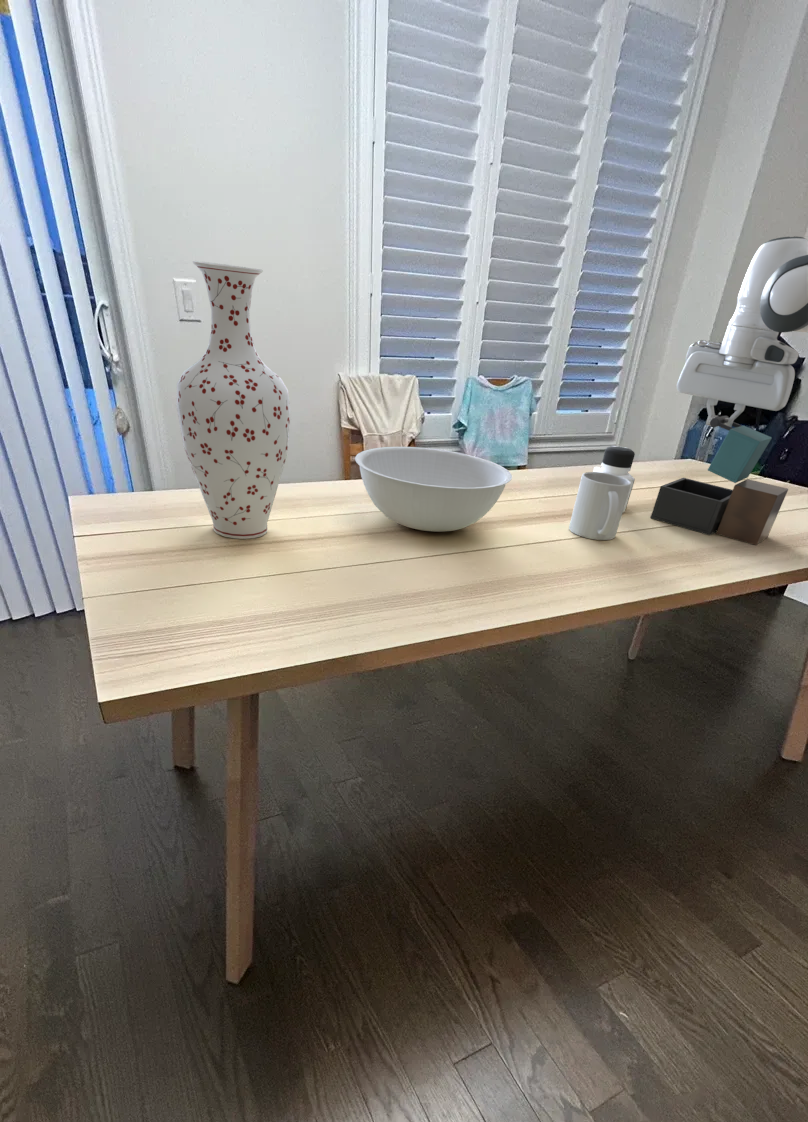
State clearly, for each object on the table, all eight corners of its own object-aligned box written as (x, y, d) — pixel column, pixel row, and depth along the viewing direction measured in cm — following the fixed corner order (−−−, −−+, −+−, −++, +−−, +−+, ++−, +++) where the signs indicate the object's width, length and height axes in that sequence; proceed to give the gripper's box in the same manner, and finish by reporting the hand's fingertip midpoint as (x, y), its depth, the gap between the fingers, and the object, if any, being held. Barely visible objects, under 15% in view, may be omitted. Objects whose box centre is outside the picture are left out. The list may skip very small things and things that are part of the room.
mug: (578, 521, 126) (592, 469, 120) (624, 534, 122) (641, 480, 116) (557, 533, 118) (570, 477, 112) (605, 547, 114) (622, 490, 108)
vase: (310, 529, 106) (315, 275, 86) (248, 556, 94) (237, 266, 74) (233, 507, 111) (221, 263, 91) (165, 530, 99) (133, 253, 79)
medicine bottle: (625, 513, 134) (643, 453, 128) (592, 509, 134) (608, 449, 127) (616, 503, 140) (633, 446, 134) (585, 500, 140) (600, 442, 133)
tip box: (773, 434, 123) (725, 414, 127) (761, 438, 117) (711, 417, 121) (747, 477, 129) (702, 456, 133) (735, 483, 123) (687, 461, 127)
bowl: (323, 508, 116) (324, 450, 110) (436, 495, 131) (442, 443, 125) (414, 559, 99) (421, 494, 94) (532, 538, 114) (544, 481, 108)
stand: (767, 536, 131) (788, 488, 125) (756, 545, 125) (777, 495, 119) (728, 525, 135) (747, 478, 129) (715, 533, 129) (734, 484, 123)
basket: (729, 523, 136) (741, 492, 133) (709, 535, 127) (722, 502, 124) (672, 507, 142) (683, 477, 139) (650, 518, 133) (660, 486, 130)
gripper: (686, 338, 120) (661, 417, 128) (800, 354, 110) (766, 439, 118) (697, 338, 124) (672, 415, 132) (808, 354, 114) (774, 436, 122)
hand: (717, 426), depth 125 cm, fingers closed, pressing on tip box
